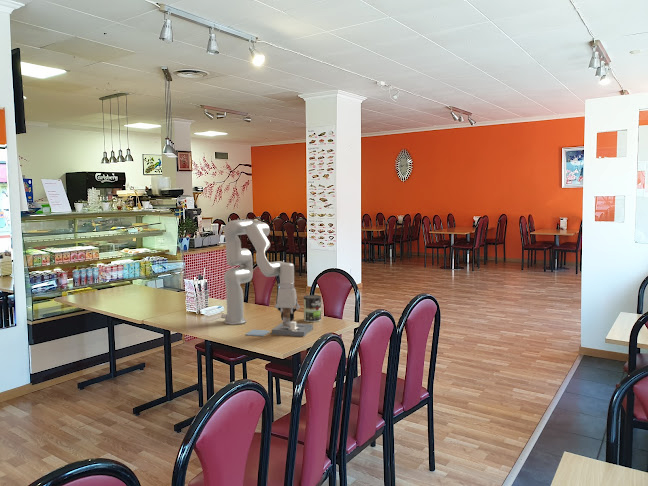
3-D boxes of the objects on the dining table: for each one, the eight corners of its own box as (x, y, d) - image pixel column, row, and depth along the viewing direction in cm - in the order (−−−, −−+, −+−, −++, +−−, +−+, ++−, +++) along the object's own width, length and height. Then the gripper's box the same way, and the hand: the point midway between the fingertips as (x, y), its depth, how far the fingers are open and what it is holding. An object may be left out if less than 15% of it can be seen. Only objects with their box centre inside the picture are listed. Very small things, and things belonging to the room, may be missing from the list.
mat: (245, 335, 268) (245, 334, 268) (252, 330, 278) (252, 329, 278) (262, 336, 265) (262, 335, 265) (269, 331, 275) (269, 330, 275)
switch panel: (271, 334, 269) (271, 329, 269) (282, 326, 285) (282, 322, 285) (304, 336, 265) (304, 331, 264) (312, 328, 280) (312, 324, 280)
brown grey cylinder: (282, 326, 269) (282, 308, 269) (285, 324, 273) (285, 306, 272) (289, 327, 268) (289, 308, 267) (292, 325, 272) (292, 306, 271)
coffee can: (324, 320, 299) (324, 296, 297) (310, 323, 293) (310, 299, 291) (314, 317, 307) (314, 294, 306) (300, 319, 301) (300, 296, 300)
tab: (288, 329, 269) (288, 322, 268) (291, 327, 273) (291, 320, 272) (295, 330, 267) (295, 323, 267) (298, 327, 272) (298, 321, 271)
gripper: (269, 286, 267) (270, 320, 269) (299, 288, 263) (300, 322, 265) (274, 284, 275) (275, 317, 276) (304, 285, 270) (304, 319, 272)
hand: (287, 319), depth 271 cm, fingers closed on brown grey cylinder, 4 cm apart
